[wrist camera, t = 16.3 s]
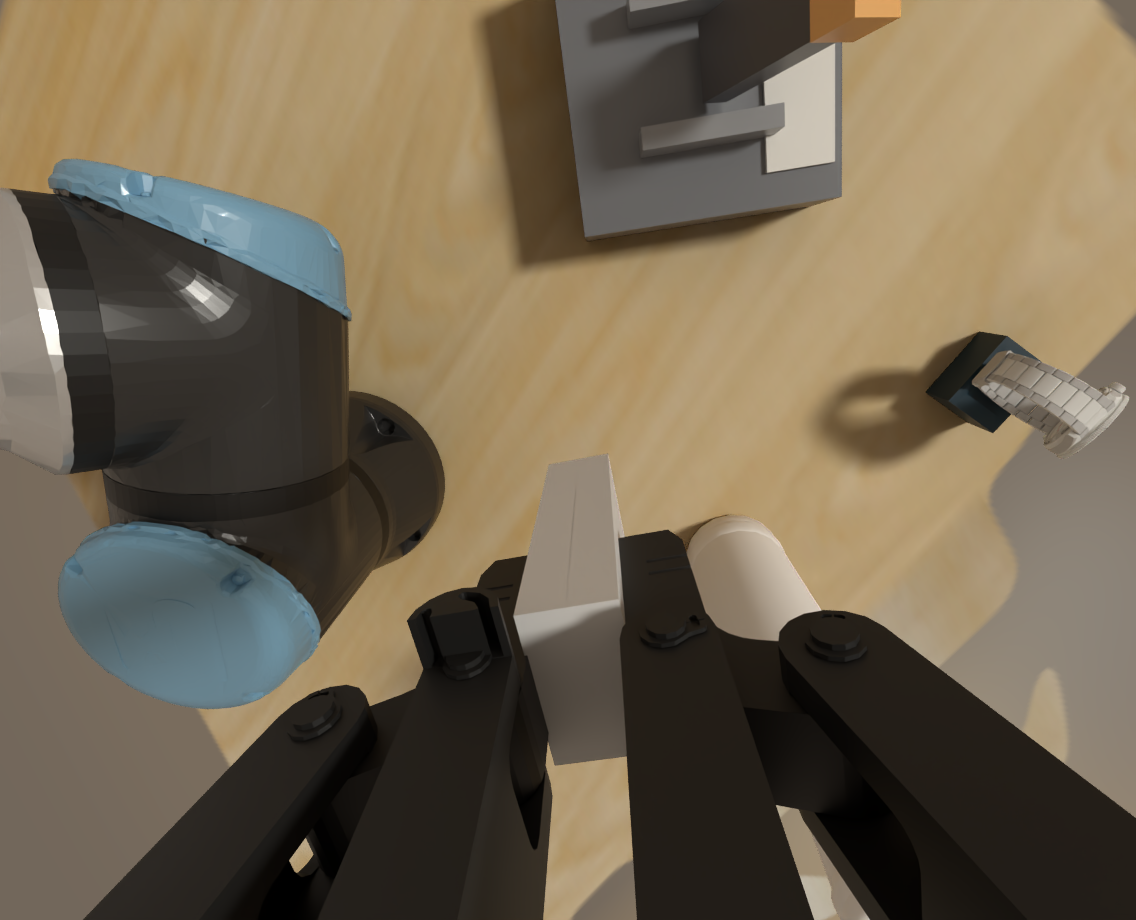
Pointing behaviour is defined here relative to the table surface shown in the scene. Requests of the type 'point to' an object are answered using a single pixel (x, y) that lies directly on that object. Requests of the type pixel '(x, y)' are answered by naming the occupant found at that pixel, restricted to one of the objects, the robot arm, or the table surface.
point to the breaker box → (688, 123)
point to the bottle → (756, 611)
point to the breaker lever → (777, 37)
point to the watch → (1025, 394)
